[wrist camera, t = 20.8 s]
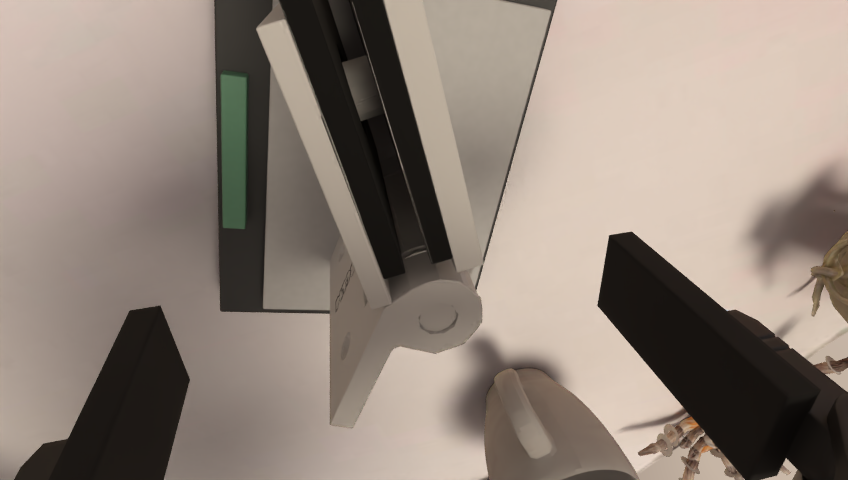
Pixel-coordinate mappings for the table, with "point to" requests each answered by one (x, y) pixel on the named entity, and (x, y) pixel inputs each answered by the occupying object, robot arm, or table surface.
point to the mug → (546, 433)
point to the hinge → (380, 185)
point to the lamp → (833, 277)
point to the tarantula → (705, 442)
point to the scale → (291, 167)
